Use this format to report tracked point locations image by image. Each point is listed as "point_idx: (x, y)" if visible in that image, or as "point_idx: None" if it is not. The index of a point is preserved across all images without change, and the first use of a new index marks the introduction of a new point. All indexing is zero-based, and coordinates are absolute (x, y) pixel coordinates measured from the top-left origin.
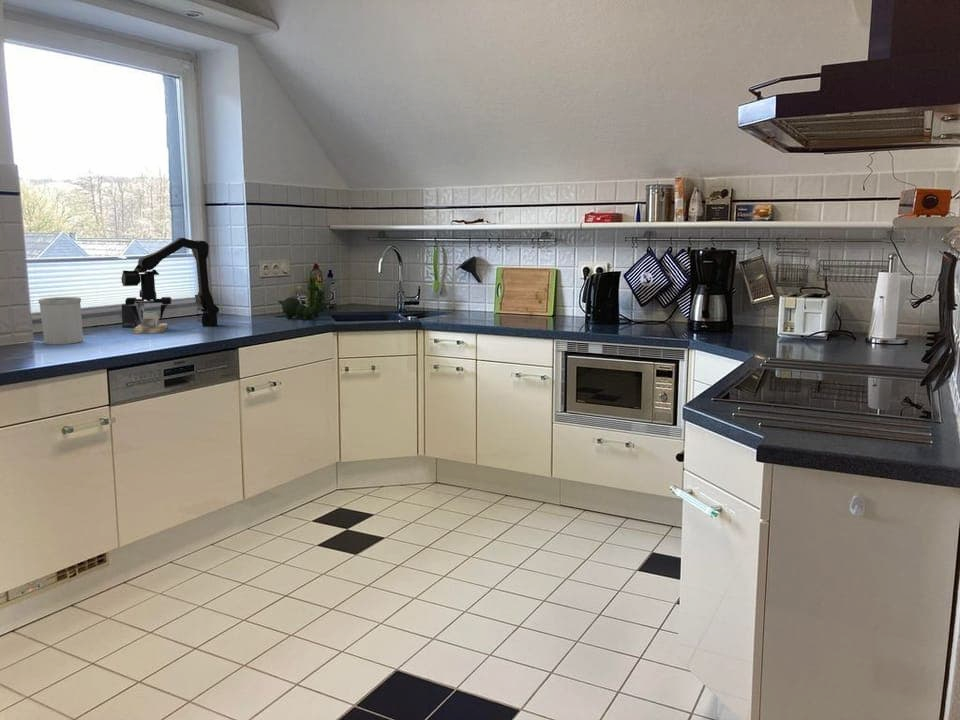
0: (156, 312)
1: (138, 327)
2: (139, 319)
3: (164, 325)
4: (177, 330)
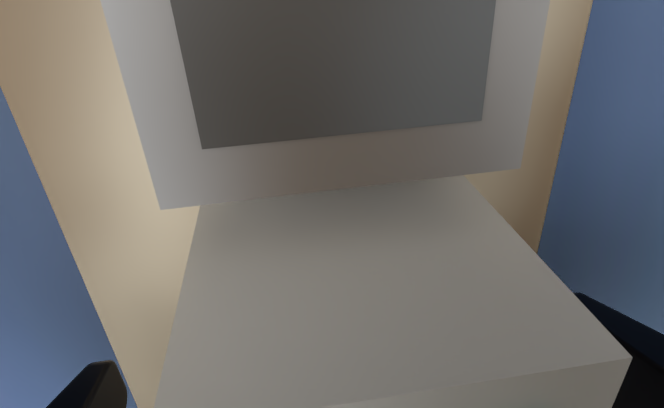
0: (599, 350)
1: (156, 330)
2: (113, 384)
3: (552, 103)
4: (647, 268)
